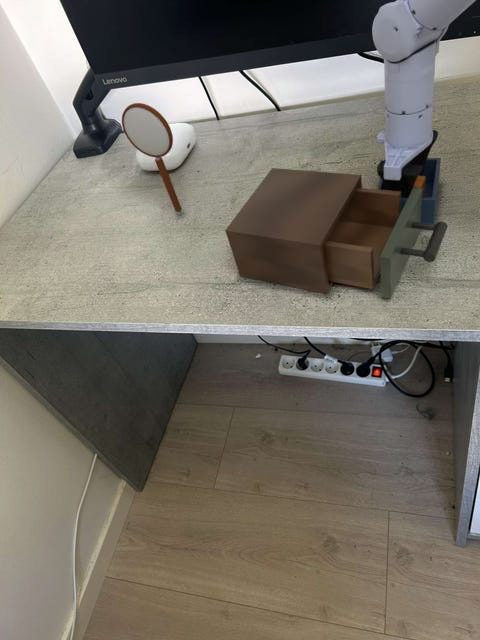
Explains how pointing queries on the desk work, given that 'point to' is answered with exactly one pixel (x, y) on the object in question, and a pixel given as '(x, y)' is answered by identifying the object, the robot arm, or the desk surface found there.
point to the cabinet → (290, 227)
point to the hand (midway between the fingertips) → (407, 193)
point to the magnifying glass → (151, 139)
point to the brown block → (420, 184)
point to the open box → (430, 190)
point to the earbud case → (180, 149)
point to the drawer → (378, 239)
